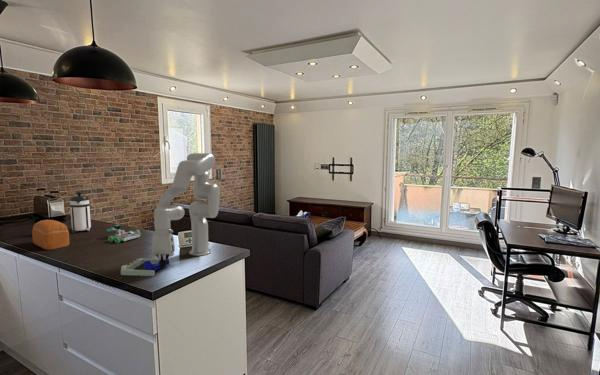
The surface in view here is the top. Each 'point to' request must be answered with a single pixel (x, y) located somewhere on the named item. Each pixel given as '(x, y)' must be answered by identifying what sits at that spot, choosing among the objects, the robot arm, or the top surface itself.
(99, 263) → the top surface
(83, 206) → the coffee press
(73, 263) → the top surface
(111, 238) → the robot kit
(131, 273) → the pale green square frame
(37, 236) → the bread
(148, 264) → the cable clip
